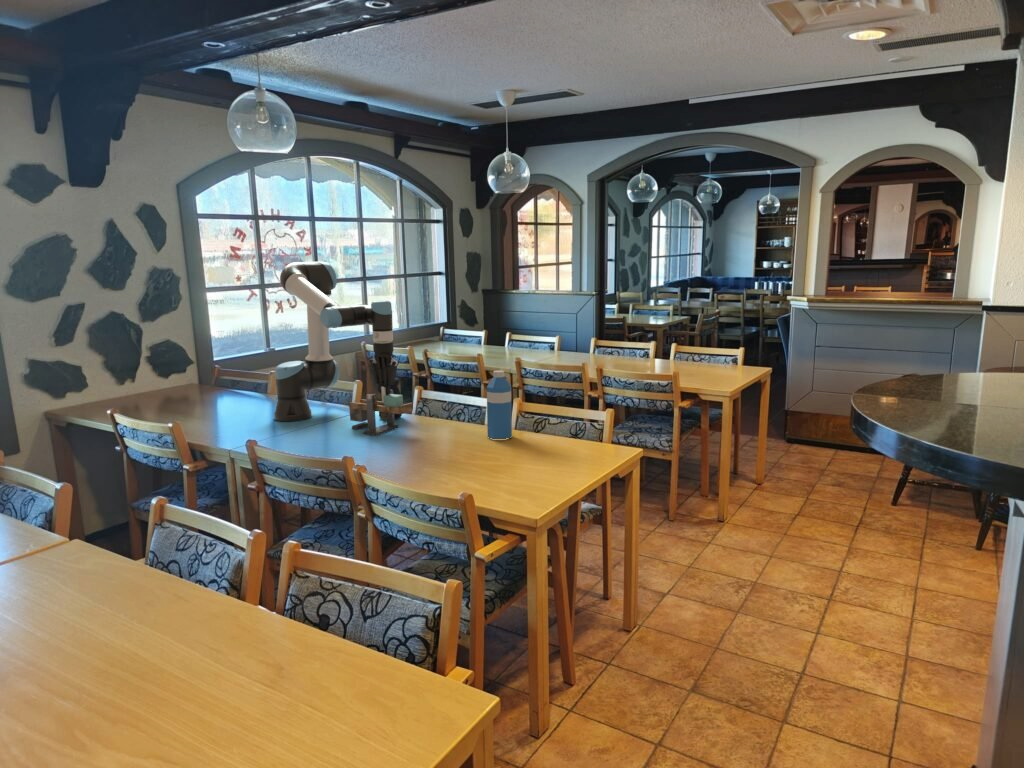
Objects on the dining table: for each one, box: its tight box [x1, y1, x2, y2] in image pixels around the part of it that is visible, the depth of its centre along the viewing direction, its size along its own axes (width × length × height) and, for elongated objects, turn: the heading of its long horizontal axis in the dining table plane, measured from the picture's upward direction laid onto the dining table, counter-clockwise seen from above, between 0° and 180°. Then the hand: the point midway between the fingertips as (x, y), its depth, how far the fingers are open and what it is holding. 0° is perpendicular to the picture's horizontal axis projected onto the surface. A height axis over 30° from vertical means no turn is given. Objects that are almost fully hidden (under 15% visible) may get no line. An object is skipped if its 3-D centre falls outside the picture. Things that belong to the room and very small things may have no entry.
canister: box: [376, 376, 403, 421], centre depth 282 cm, size 10×10×18 cm
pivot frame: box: [363, 390, 400, 436], centre depth 263 cm, size 6×14×15 cm, turn 150°
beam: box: [348, 393, 414, 423], centre depth 263 cm, size 26×9×12 cm, turn 60°
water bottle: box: [486, 369, 513, 439], centre depth 250 cm, size 9×9×25 cm
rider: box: [384, 394, 404, 408], centre depth 259 cm, size 6×4×5 cm, turn 60°
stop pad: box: [351, 421, 368, 431], centre depth 270 cm, size 3×7×1 cm, turn 150°
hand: (385, 402), depth 261 cm, fingers closed
